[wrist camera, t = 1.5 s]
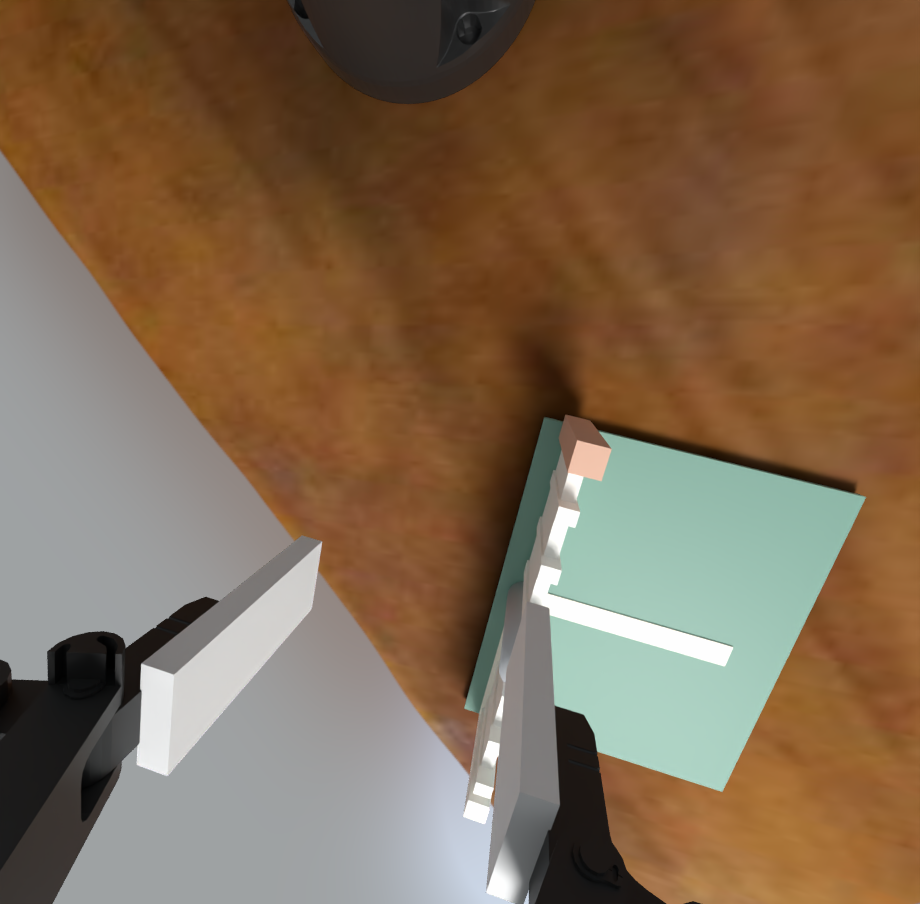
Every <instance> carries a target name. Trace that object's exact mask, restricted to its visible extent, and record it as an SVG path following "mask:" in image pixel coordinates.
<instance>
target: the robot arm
mask: <svg viewBox="0 0 920 904" xmlns="http://www.w3.org/2000/svg"><path fill="white" fill-rule="evenodd" d="M287 1H288V4H289V6H290V8H291V10H292V12H293V14H294V16H295V18H296V20H297V22H298V24H299V25H300V27H301V29H302V30H303V32H304V33H305V35H306V36H307V37H308V39H309V40H310V42H311V43H312V44H313V46H314V47H315V49H316V50H317V51H318V53H319V54H320V55H321V57H322V58H323V59H324V61H325V62H326V63H327V64H328V66H329V67H330V68H331V69H332V70H333V71H334V72H335V73H336V74H337V75H338V76H339V77H340V78H341V79H343V80H344V81H345V82H346V83H348V84H349V85H350V86H352V87H354V88H355V89H357V90H358V91H360V92H362V93H364V94H366V95H369V96H371V97H373V98H376V99H379V100H383V101H387V102H392V103H401V104H415V103H424V102H429V101H434V100H437V99H441V98H444V97H446V96H449V95H451V94H454V93H456V92H458V91H460V90H462V89H463V88H465V87H467V86H468V85H470V84H472V83H473V82H474V81H476V80H477V79H479V78H480V77H481V76H482V75H483V74H485V73H486V72H487V71H488V70H489V69H490V68H491V67H492V66H493V65H494V64H496V62H497V61H498V60H499V59H500V58H501V57H502V56H503V55H504V53H505V52H506V51H507V50H508V48H509V47H510V46H511V44H512V43H513V42H514V40H515V39H516V37H517V36H518V34H519V32H520V31H521V29H522V27H523V26H524V24H525V22H526V20H527V18H528V16H529V14H530V12H531V9H532V7H533V5H534V2H535V0H287ZM321 546H322V541H319V540H315V539H312V538H308V537H305V536H301V537H300V538H298V539H297V540H296V541H295V542H293V543H292V544H291V545H290V546H289V547H287V548H286V549H285V550H283V551H282V552H281V553H279V554H278V555H277V556H276V557H275V558H273V559H272V560H271V561H269V562H268V563H267V564H266V565H265V566H263V567H262V568H261V569H259V570H258V571H257V572H256V573H254V574H253V575H252V576H251V577H249V578H248V579H247V580H246V581H244V582H243V583H242V584H241V585H239V586H238V587H237V588H236V589H234V590H233V591H232V592H231V593H229V594H228V595H227V596H226V597H224V598H223V599H222V600H220V601H217V600H214V599H211V598H208V597H204V598H201V599H199V600H196V601H194V602H191V603H189V604H186V605H184V606H183V607H182V608H180V609H179V610H178V611H176V612H175V613H173V614H172V615H171V616H170V617H169V619H165V620H164V621H162V622H161V623H160V624H158V625H157V627H156V628H153V629H151V630H150V631H149V632H147V633H146V634H145V635H143V636H142V637H140V638H139V639H138V640H136V641H135V642H134V643H132V644H131V645H129V646H128V647H127V648H125V643H124V640H123V638H121V637H120V636H118V635H117V634H114V633H109V632H104V631H103V632H102V631H101V632H88V633H84V634H80V635H76V636H72V637H70V638H68V639H66V640H64V641H62V642H59V643H58V644H56V645H55V646H54V647H53V648H51V649H50V650H49V651H48V652H47V659H48V681H38V680H12V678H11V669H10V667H9V664H8V663H7V662H5V661H2V660H0V904H52V903H53V902H54V900H55V898H56V896H57V894H58V892H59V890H60V888H61V887H62V885H63V883H64V881H65V879H66V877H67V875H68V873H69V871H70V870H71V867H72V866H73V864H74V862H75V860H76V858H77V856H78V854H79V853H80V851H81V849H82V847H83V845H84V843H85V841H86V839H87V837H88V835H89V833H90V831H91V830H92V828H93V826H94V824H95V822H96V820H97V818H98V817H99V815H100V813H101V811H102V809H103V807H104V805H105V803H106V801H107V800H108V798H109V796H110V794H111V792H112V790H113V788H114V786H115V785H116V782H117V781H118V779H119V775H120V772H121V765H122V760H123V759H124V758H125V757H126V756H127V755H128V754H129V753H130V752H131V751H132V750H133V749H134V748H135V747H136V746H137V745H138V749H137V765H138V766H141V767H144V768H146V769H149V770H152V771H155V772H158V773H160V774H163V775H165V776H168V775H169V774H170V773H171V771H172V770H173V769H174V768H175V767H176V766H177V764H178V763H179V762H180V761H181V760H182V759H183V758H184V756H185V755H186V754H187V753H188V752H189V751H190V749H191V748H192V747H193V746H194V745H195V744H196V742H197V741H198V740H199V739H200V738H201V737H202V735H203V734H204V733H205V732H206V731H207V730H208V729H209V727H210V726H211V725H212V724H213V723H214V722H215V720H216V719H217V718H218V717H219V716H220V715H221V713H222V712H223V711H224V710H225V709H226V708H227V707H228V705H229V704H230V703H231V702H232V700H234V698H235V697H236V696H237V695H238V694H239V693H240V691H241V690H242V689H243V688H244V687H245V686H246V685H247V683H248V682H249V681H250V680H251V679H252V677H253V676H254V675H255V674H256V673H257V672H258V671H259V669H260V668H261V667H262V666H263V665H264V664H265V663H266V661H267V660H268V659H269V658H270V657H271V656H272V654H273V653H274V652H275V651H276V650H277V648H278V647H279V646H280V645H281V644H282V643H283V642H284V640H285V639H286V638H287V637H288V636H289V635H290V634H291V632H292V631H293V630H294V629H295V628H296V627H297V625H298V624H299V623H300V622H301V620H303V618H304V617H305V616H306V615H307V614H308V613H309V611H310V610H311V609H312V604H313V598H314V590H315V584H316V578H317V572H318V565H319V559H320V553H321ZM599 770H600V767H599V760H598V757H597V747H596V741H595V734H594V732H593V730H592V728H591V727H590V725H589V723H588V721H587V719H586V717H585V716H584V715H583V714H580V713H577V712H574V711H571V710H567V709H564V708H561V707H558V706H555V704H554V685H553V666H552V647H551V628H550V609H549V608H548V607H545V606H541V605H538V604H535V603H531V602H528V601H527V602H526V605H525V609H524V612H523V615H522V619H521V622H520V625H519V629H518V632H517V636H516V639H515V642H514V646H513V649H512V652H511V656H510V659H509V662H508V666H507V669H506V680H505V691H504V702H503V713H502V724H501V735H500V745H499V756H498V767H497V778H496V789H495V800H494V812H493V822H492V833H491V844H490V855H489V867H488V876H487V888H486V893H488V894H491V895H493V896H496V897H499V898H502V899H504V900H507V901H510V902H512V903H515V904H524V901H525V898H526V896H527V893H528V890H529V904H666V903H665V902H663V901H662V900H660V899H659V898H657V897H656V896H655V895H653V894H652V893H650V892H649V891H648V890H646V889H645V888H644V887H643V886H642V885H640V884H639V883H638V882H637V881H636V880H635V879H634V878H633V877H632V876H631V875H630V874H629V872H628V871H627V870H626V867H625V864H624V862H623V859H622V857H621V855H620V854H619V852H618V851H617V849H616V848H615V846H614V845H613V843H612V841H611V837H610V832H609V826H608V819H607V813H606V806H605V800H604V793H603V787H602V780H601V773H599ZM685 904H701V903H697V902H693V901H692V902H688V903H685Z"/></svg>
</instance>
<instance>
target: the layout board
mask: <svg viewBox="0 0 920 904" xmlns="http://www.w3.org/2000/svg"><path fill="white" fill-rule="evenodd" d="M562 425H563V421H560V420H556V419H552V418H548V417H544V420H543V423H542V427H541V431H540V434H539V438H538V441H537V445H536V449H535V452H534V456H533V460H532V463H531V467H530V470H529V474H528V478H527V481H526V485H525V489H524V492H523V496H522V500H521V503H520V507H519V510H518V514H517V518H516V521H515V525H514V529H513V532H512V536H511V539H510V543H509V547H508V550H507V554H506V558H505V561H504V565H503V568H502V572H501V576H500V579H499V583H498V587H497V590H496V594H495V598H494V601H493V605H492V608H491V612H490V616H489V619H488V623H487V627H486V630H485V634H484V637H483V641H482V645H481V648H480V652H479V656H478V659H477V663H476V667H475V670H474V674H473V677H472V681H471V685H470V688H469V692H468V696H467V699H466V703H465V708H464V709H468V710H471V711H474V712H477V713H479V714H480V713H481V710H482V708H485V704H486V701H487V697H488V695H490V694H491V691H492V687H493V684H494V678H495V670H496V666H497V663H498V660H500V656H501V647H502V639H503V630H504V621H505V612H506V604H507V595H508V591H509V589H510V587H511V586H512V585H513V584H515V583H517V582H522V581H524V570H525V566H526V563H527V560H530V557H531V553H532V550H533V547H534V543H535V540H536V536H537V525H538V521H539V518H540V516H541V517H542V516H543V512H544V509H545V505H546V502H547V498H548V495H549V492H550V480H551V477H552V473H553V470H556V468H557V464H558V461H559V457H560V454H561V450H562V449H561V445H560V442H559V435H560V431H561V428H562ZM598 431H599V433H600V434H601V435H602V437H603V438H604V439H605V441H606V442H607V443H608V445H609V446H610V447H611V448H612V450H611V453H610V456H609V459H608V462H607V466H606V469H605V472H604V475H603V478H602V481H598V480H594V479H590V478H587V477H583V480H582V483H581V487H580V490H579V493H578V496H577V502H578V506H579V509H580V515H579V518H578V521H577V524H576V527H575V528H573V527H570V526H568V529H567V532H566V535H565V538H564V542H563V545H562V548H561V551H560V560H561V568H562V572H561V575H560V578H559V581H558V585H553V584H550V587H549V590H548V593H547V597H546V600H545V603H544V606H545V607H548V608H549V609H550V628H551V647H552V666H553V685H554V704H555V706H558V707H561V708H564V709H567V710H571V711H574V712H577V713H580V714H583V715H584V716H585V717H586V719H587V721H588V723H589V725H590V727H591V728H592V730H593V732H594V734H595V741H596V747H597V751H598V752H601V753H604V754H607V755H610V756H613V757H616V758H619V759H622V760H625V761H629V762H632V763H635V764H638V765H641V766H644V767H647V768H650V769H653V770H656V771H660V772H663V773H666V774H669V775H672V776H675V777H678V778H681V779H684V780H687V781H690V782H694V783H697V784H700V785H703V786H706V787H709V788H712V789H715V790H718V791H721V792H722V791H723V789H724V787H725V785H726V783H727V781H728V779H729V777H730V775H731V773H732V771H733V769H734V766H735V764H736V762H737V760H738V758H739V756H740V754H741V752H742V750H743V748H744V746H745V744H746V742H747V740H748V738H749V736H750V734H751V732H752V730H753V728H754V726H755V723H756V721H757V719H758V717H759V715H760V713H761V711H762V709H763V707H764V705H765V703H766V701H767V699H768V697H769V695H770V693H771V691H772V689H773V687H774V685H775V682H776V680H777V678H778V676H779V674H780V672H781V670H782V668H783V666H784V664H785V662H786V660H787V658H788V656H789V654H790V652H791V650H792V648H793V646H794V644H795V642H796V639H797V637H798V635H799V633H800V631H801V629H802V627H803V625H804V623H805V621H806V619H807V617H808V615H809V613H810V611H811V609H812V607H813V605H814V603H815V601H816V598H817V596H818V594H819V592H820V590H821V588H822V586H823V584H824V582H825V580H826V578H827V576H828V574H829V572H830V570H831V568H832V566H833V564H834V562H835V560H836V558H837V555H838V553H839V551H840V549H841V547H842V545H843V543H844V541H845V539H846V537H847V535H848V533H849V531H850V529H851V527H852V525H853V523H854V521H855V519H856V517H857V514H858V512H859V510H860V508H861V506H862V504H863V502H864V500H865V498H866V497H864V496H862V495H860V494H856V493H852V492H848V491H844V490H840V489H836V488H832V487H828V486H824V485H820V484H816V483H812V482H807V481H803V480H799V479H795V478H791V477H787V476H783V475H779V474H775V473H771V472H767V471H763V470H759V469H755V468H751V467H747V466H743V465H738V464H734V463H730V462H726V461H722V460H718V459H714V458H710V457H706V456H702V455H698V454H694V453H690V452H686V451H682V450H678V449H674V448H669V447H665V446H661V445H657V444H653V443H649V442H645V441H641V440H637V439H633V438H629V437H625V436H621V435H617V434H613V433H609V432H604V431H600V430H598Z"/></svg>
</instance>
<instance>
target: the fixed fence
mask: <svg viewBox="0 0 920 904" xmlns="http://www.w3.org/2000/svg"><path fill="white" fill-rule="evenodd" d="M523 582H524V581H522V582H517V583H515V584H513V585H512V586H511V587H510V589H509V591H508V595H507V604H506V612H505V621H504V630H503V639H502V647H501V656H500V660H498V663H497V666H496V670H495V678H494V684H493V687H492V691H491V694H490V695H488V697H487V701H486V704H485V708H482V710H481V713H480V714H479V719H478V725H477V731H476V738H475V744H474V751H473V757H472V764H471V770H470V777H469V784H468V790H467V796H466V802H465V809H464V815H463V816H464V817H466V818H468V819H471V820H474V821H477V822H480V823H483V824H485V822H486V819H487V815H488V812H489V809H490V802H491V794H492V791H493V788H494V778H495V767H496V758H497V756H499V745H500V735H501V724H502V713H503V702H504V691H505V680H506V669H507V666H508V662H509V659H510V656H511V652H512V649H513V646H514V642H515V639H516V636H517V632H518V629H519V625H520V622H521V619H522V601H523Z"/></svg>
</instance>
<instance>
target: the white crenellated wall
mask: <svg viewBox="0 0 920 904" xmlns="http://www.w3.org/2000/svg"><path fill="white" fill-rule="evenodd" d="M559 442H560V445H561V449H562V450H561V454H560V457H559V461H558V464H557V468H556V470H553V473H552V477H551V480H550V492H549V495H548V498H547V502H546V505H545V509H544V512H543V516H542V517H541V516H540V518H539V521H538V525H537V536H536V540H535V543H534V547H533V550H532V553H531V557H530V560H527V563H526V566H525V570H524V582H523V601H522V615H523V612H524V609H525V605H526V602H527V601H528V602H531V603H535V604H538V605H541V606H544V603H545V600H546V597H547V593H548V590H549V587H550V584H553V585H558V581H559V578H560V575H561V572H562V568H561V560H560V551H561V548H562V545H563V542H564V538H565V535H566V532H567V529H568V526H570V527H573V528H575V527H576V524H577V521H578V518H579V515H580V509H579V506H578V502H577V496H578V493H579V490H580V487H581V483H582V480H583V477H587V478H590V479H594V480H598V481H602V478H603V475H604V472H605V469H606V466H607V462H608V459H609V456H610V453H611V450H612V448H611V447H610V446H609V445H608V443H607V442H606V441H605V439H604V438H603V437H602V435H601V434H600V433H599V431H598V430H597V429H596V428H595V426H594V425H593V424H592V422H591V421H590V420H586V419H582V418H578V417H574V416H570V415H566V414H565V418H564V421H563V425H562V428H561V431H560V435H559Z"/></svg>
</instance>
